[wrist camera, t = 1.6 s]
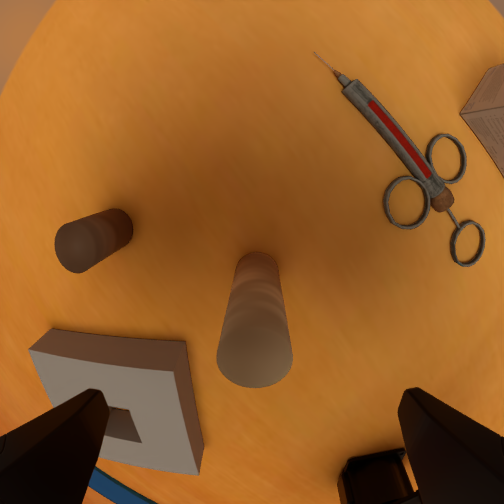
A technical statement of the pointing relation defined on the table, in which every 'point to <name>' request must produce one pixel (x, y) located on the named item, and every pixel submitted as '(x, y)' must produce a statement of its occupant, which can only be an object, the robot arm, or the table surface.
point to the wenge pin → (92, 239)
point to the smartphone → (115, 489)
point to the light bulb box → (488, 113)
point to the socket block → (129, 394)
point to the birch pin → (255, 326)
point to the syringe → (411, 161)
